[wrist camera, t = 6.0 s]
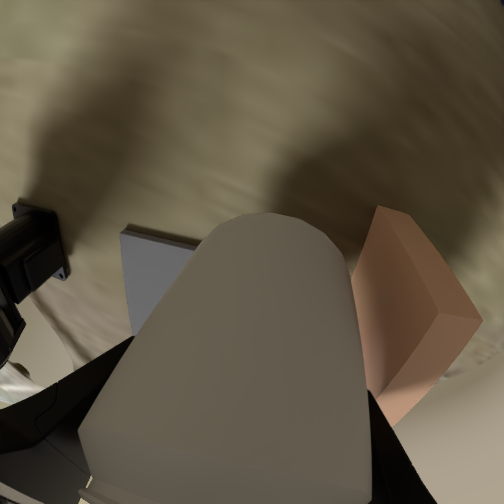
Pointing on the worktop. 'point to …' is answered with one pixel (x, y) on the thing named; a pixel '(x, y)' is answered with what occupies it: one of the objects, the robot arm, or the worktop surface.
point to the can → (240, 380)
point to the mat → (149, 271)
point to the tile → (407, 312)
